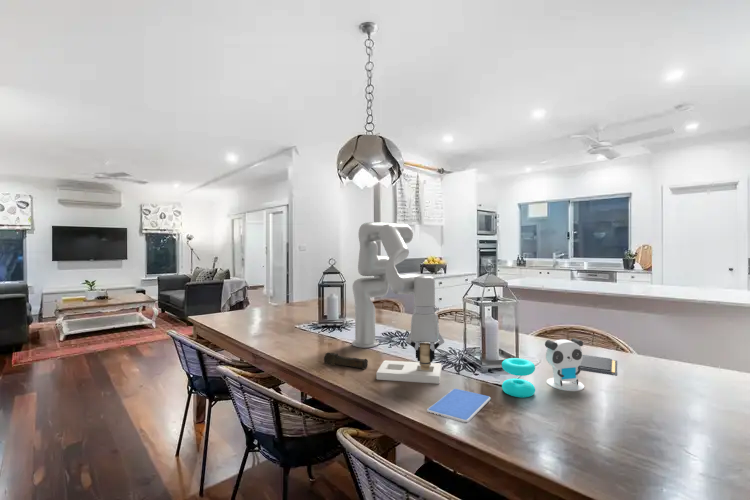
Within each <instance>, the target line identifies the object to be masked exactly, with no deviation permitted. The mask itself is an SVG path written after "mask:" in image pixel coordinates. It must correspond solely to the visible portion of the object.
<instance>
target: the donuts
mask: <svg viewBox="0 0 750 500" xmlns="http://www.w3.org/2000/svg"><path fill="white" fill-rule="evenodd" d="M501 368H502V370H503V371H504V372H506V373H508V374H509V375H514V376H518V377H521V376H522V377H526V376H529V375H532V374H533V373H535V370H536V366H535V364H534V363H533V361H530V360H528V359H525V358H521V357H520V358H518V357H510V358H506V359H504V360H503V361H502V362H501ZM501 389H502V391H503V392H504V393H505V394H507V395H509V396H511V397H513V398H514V397H515V398H522V399H524V398H530V397H533V395H535V392H536V388H535V385H534V384H533V382H532V383H531V381H528V380H526V379H522V378H508V379H505V380H504V381H503V382H502V384H501Z"/></svg>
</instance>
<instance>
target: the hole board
mask: <svg viewBox="0 0 750 500" xmlns="http://www.w3.org/2000/svg"><path fill="white" fill-rule="evenodd" d="M441 377H442V363H441V362H440V363H439V362H438V363H437V362H436V363H435V362H431V365H430V369H429V370H422V369H421V365H420V363H419V361H402V360H383V361H382V363H381V364H380V366H379V367H378V369H377V371H376V380H380V381H381V380H382V381H392V382H393V381H394V382H395V381H396V382H410V383H423V384H424V383H425V384H437V385H438V384H440V382H441Z"/></svg>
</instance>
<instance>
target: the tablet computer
mask: <svg viewBox="0 0 750 500" xmlns="http://www.w3.org/2000/svg"><path fill="white" fill-rule="evenodd" d="M491 400H492V398H491V397H490V396H489V395H485V394H481V393H476V392H472V391H467V390H463V389H459V388H452V389H451V390H450V391H449V392H447V393H446V394H445V395H444V396H442V397H440V399H439V400H437V401H436V402H435V403H433V404H432V405H430V406H429V407H427V409H426V412H427V413H429V412H430V413H429V414H432V413H434V414H433V415H436V414H437V415H436V416H439V415H441V416H440V417H443V416H444V417H443V418H446V417H447V419H450V418H451V419H450V420H453V419H454V420H453V421H457V420H458V421H457V422H460V421H462V422H461V423H464V422H468V423H469V422H470V421H471V420H472V419H473V418H474V417H475V416H476V415H477V414H478V412H480V411H481V410H482V409H483V408H484V407H485V406H486V405H487V404H488V403H489V402H490V401H491Z"/></svg>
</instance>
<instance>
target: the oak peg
mask: <svg viewBox="0 0 750 500" xmlns="http://www.w3.org/2000/svg"><path fill="white" fill-rule="evenodd" d="M419 350H420V361H418V362H419V363H420V365H421V369H422V370H429V369H430V365H431V363H432V362H430V350H431V345H430V342H419Z"/></svg>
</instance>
